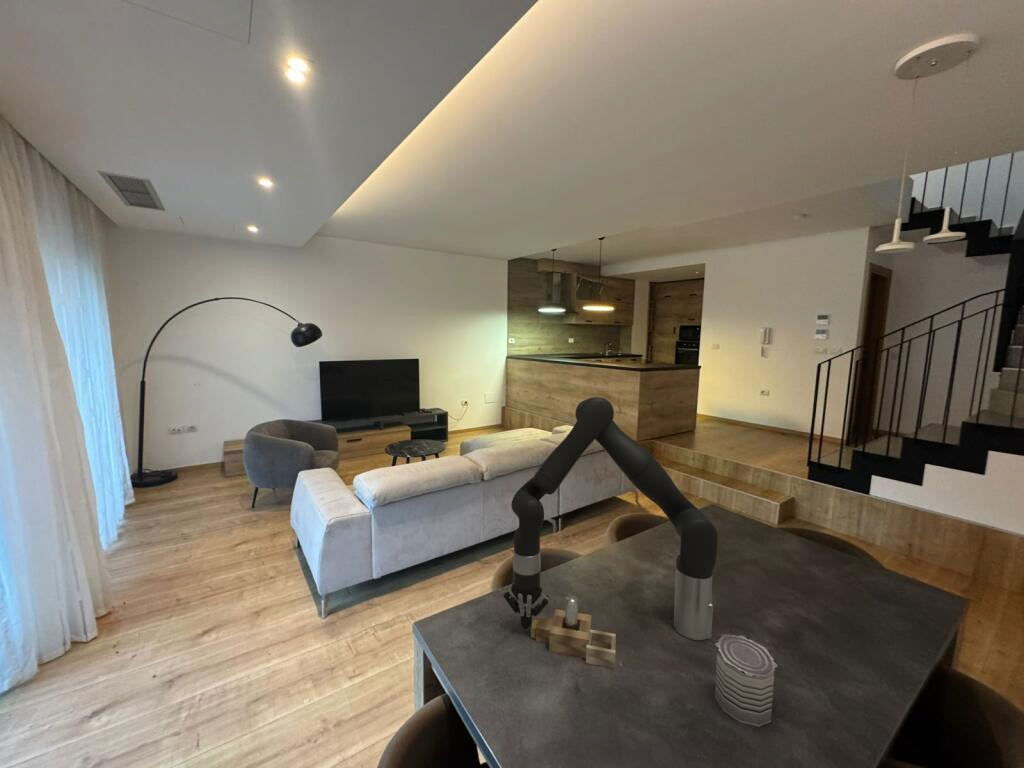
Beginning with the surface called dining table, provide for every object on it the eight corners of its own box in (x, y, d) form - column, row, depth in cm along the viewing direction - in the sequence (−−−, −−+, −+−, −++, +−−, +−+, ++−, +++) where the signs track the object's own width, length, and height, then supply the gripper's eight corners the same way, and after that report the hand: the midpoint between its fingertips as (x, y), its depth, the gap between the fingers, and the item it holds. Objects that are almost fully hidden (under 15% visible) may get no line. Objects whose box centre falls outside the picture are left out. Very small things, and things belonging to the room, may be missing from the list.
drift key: (562, 634, 111) (563, 624, 111) (561, 643, 107) (561, 633, 107) (533, 628, 113) (533, 619, 113) (530, 637, 109) (530, 627, 109)
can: (752, 682, 96) (754, 633, 95) (786, 726, 84) (789, 672, 83) (704, 683, 95) (706, 634, 94) (732, 727, 84) (735, 673, 83)
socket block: (591, 632, 112) (591, 615, 112) (588, 658, 102) (588, 640, 102) (541, 623, 116) (541, 606, 115) (533, 647, 106) (534, 629, 106)
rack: (615, 648, 106) (615, 634, 106) (614, 668, 99) (615, 653, 99) (588, 643, 108) (588, 629, 108) (585, 662, 101) (586, 647, 101)
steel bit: (577, 638, 110) (578, 596, 109) (576, 646, 107) (577, 603, 106) (565, 636, 110) (566, 594, 110) (564, 644, 107) (564, 601, 106)
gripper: (553, 563, 112) (552, 622, 113) (506, 556, 115) (506, 614, 117) (548, 577, 105) (547, 641, 106) (499, 570, 108) (499, 631, 110)
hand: (526, 627), depth 111 cm, fingers closed
